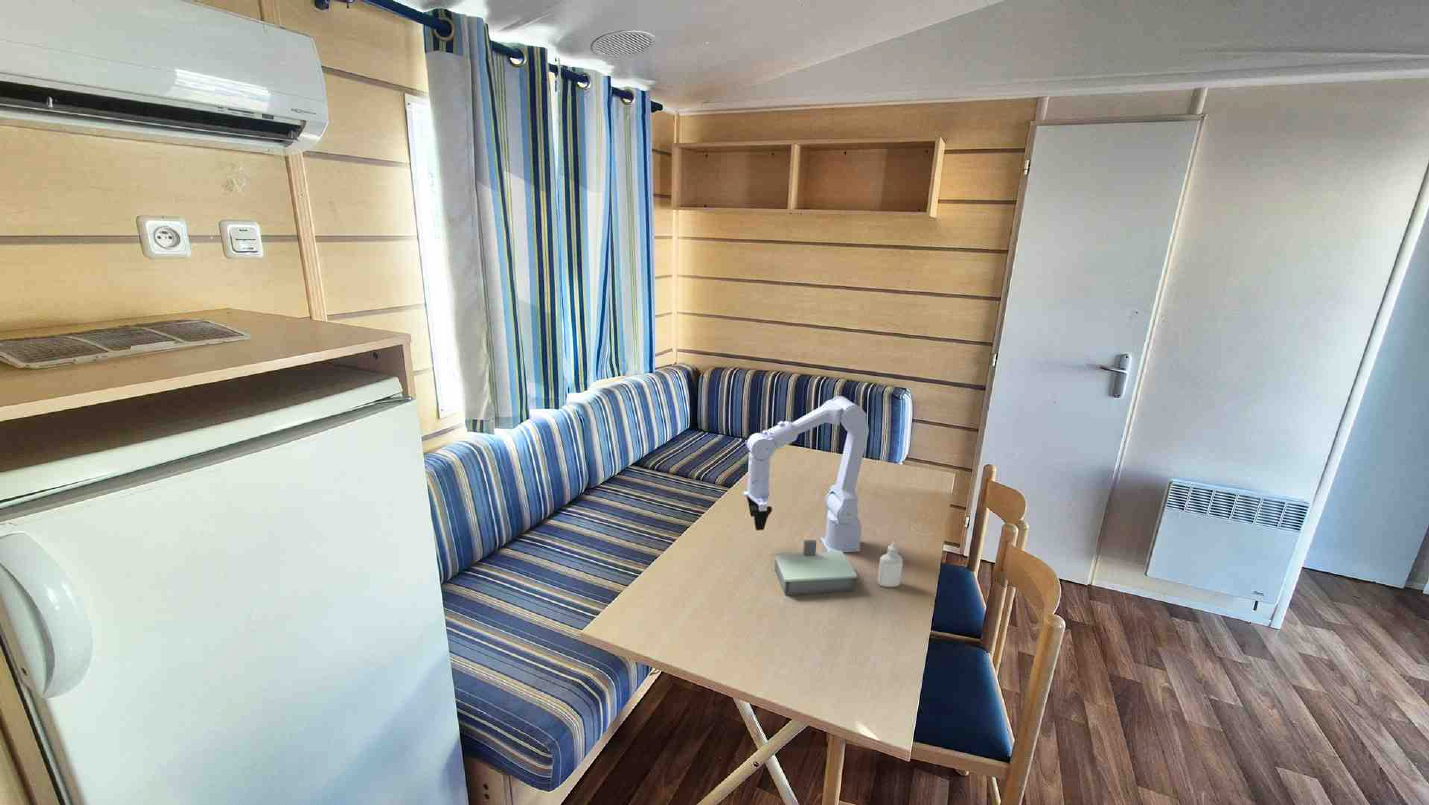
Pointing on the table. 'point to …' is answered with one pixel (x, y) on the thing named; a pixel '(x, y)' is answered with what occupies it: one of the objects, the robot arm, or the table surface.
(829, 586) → the parts tub
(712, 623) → the table surface
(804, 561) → the tub lid
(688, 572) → the table surface
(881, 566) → the eye dropper bottle
